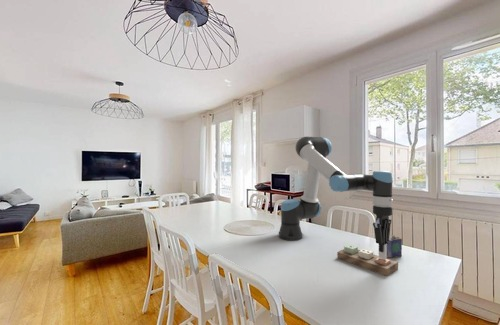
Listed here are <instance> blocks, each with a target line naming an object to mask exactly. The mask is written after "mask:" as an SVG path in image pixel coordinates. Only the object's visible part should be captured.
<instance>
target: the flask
mask: <svg viewBox="0 0 500 325" xmlns="http://www.w3.org/2000/svg"><path fill="white" fill-rule="evenodd" d="M387 242H388V241H387ZM402 242H403V238H401V237H400V236H399V237H398V236H396V235H395V234H391V237H389V242H388V243H389V244H387V259H393V258H398V257H399V258H400V257H402V256H403V255H402V251H403V250H402V249H403V247H402V246H403V245H402Z"/></svg>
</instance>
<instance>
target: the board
mask: <svg viewBox="0 0 500 325" xmlns="http://www.w3.org/2000/svg"><path fill="white" fill-rule="evenodd" d="M359 251H360V249H358V252H357V253H355V254H350V253H347V252H344V248H343V249H342V250H338V251H337V254H336V256H337V259H339V260H342V261H344V262H348V263H350V264H353V265H355V266H358V267H361V268H363V269H366V270H369V271H371V272H375V273H378V274H379V275H382V276H386V277H388V276H389V275H391V274H392V273H394V272H395V271H397V270H398V269H399V261H395V260H392V259H391V258H388V259H389V260H391V264H389V265H387V266H385V265H382V264H379V263H376V262H375V259H377V258H379V255H377V254H374V253H373V258H371V259H369V260H368V259H365V258H362V257H359Z"/></svg>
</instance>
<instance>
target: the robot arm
mask: <svg viewBox="0 0 500 325" xmlns="http://www.w3.org/2000/svg"><path fill="white" fill-rule="evenodd" d="M295 152H296V154H297V155H298V157H299V158H300V159H302V160H306V162H307V163H308V164H307V169H306V176H305V183H304V188H303V189H304V190H303V195H301V196H300V199H297V198H291V199H290V198H289V199H285V200H283V201H282V202H281V203H280V204H281V205H280V210H281V212H280V218H281V219H280V222H281V224H280V228H279V231H278V238H279V239H281V240H286V241H299V240H302V239H303V236H304V235H303V231H302V228H301V225H300V220H306V219H307V220H308V219H314V218H317V217H320V216H319V215H320V214H321V211H322V206H321V202H320V200H319V198H318V192H319V186H320V180H321V175H322V176H323V177H324V178H325V179H327V181H328V184H329V187H330V189H331V190H332V191H333V192H336V193H337V192H339V193H343V192H351V191H352V192H353V191H370V192H372V204H373V205H372V214H373V215H376V216H375V222H373V223H372V226H373V229H374V239H375V243H376V244H378V256H379V258H381V259H384V260H386V259H388V257H387V244H389V243H388V242H389V238H390V236H391V235H390V234H391V233H390V232H391V225H392V219H390V217H391V216H393V207H392V206H393V202H394V199H393V174H392V172H391V171H388V170H374V171H372V174H365V173H364V174H362V173H355V174H346V173H345V172H343V171H342V170H340V168H338V167H337V166H336V165H335V164H333V163H332V162H331V161H330V160H328V158H326V157H328V156H329V155H330V154H331V153H332V142H331V141H330V140H329V139H328V138H326V137H322V136H303V137H301V138H299V139H298V140H297V142H296V143H295ZM387 241H388V242H387Z"/></svg>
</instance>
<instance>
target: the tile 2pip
mask: <svg viewBox="0 0 500 325" xmlns="http://www.w3.org/2000/svg"><path fill="white" fill-rule="evenodd" d="M359 250H360V249H359ZM373 254H374V251H371V250H368V249H365V248H362V249H361V250H360V251H359V257H362V258H365V259H368V260H369V259H371V258H373Z"/></svg>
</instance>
